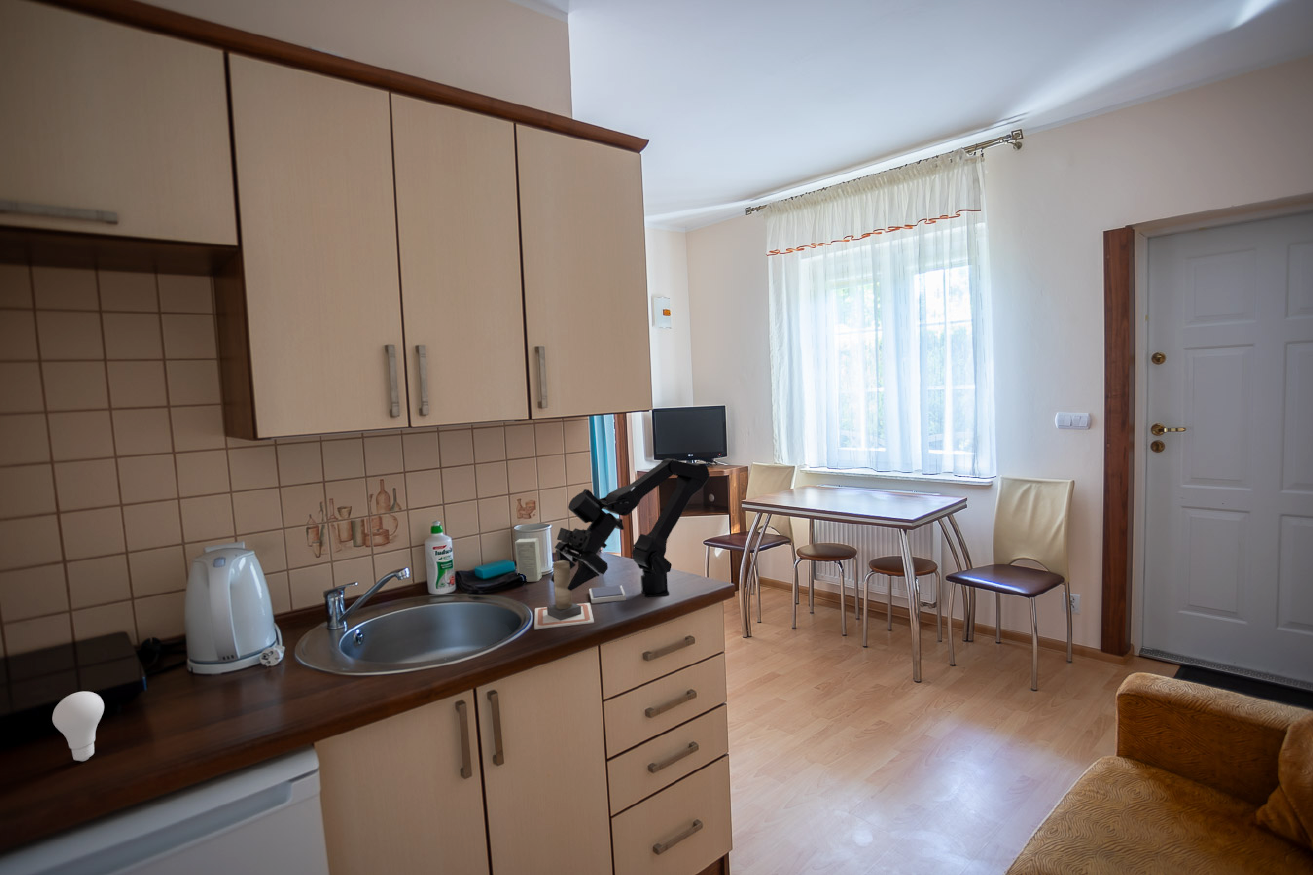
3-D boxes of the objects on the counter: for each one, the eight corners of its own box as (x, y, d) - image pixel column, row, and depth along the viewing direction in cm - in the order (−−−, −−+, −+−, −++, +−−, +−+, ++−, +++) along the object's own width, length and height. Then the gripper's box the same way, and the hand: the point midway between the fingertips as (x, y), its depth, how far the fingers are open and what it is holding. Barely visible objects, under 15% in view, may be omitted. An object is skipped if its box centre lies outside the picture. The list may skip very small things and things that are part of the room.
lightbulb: (49, 767, 101) (41, 699, 100) (95, 746, 106) (87, 682, 106) (73, 774, 98) (64, 705, 98) (118, 752, 104) (110, 687, 103)
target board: (589, 604, 167) (589, 602, 167) (594, 622, 153) (593, 620, 153) (535, 609, 164) (534, 607, 164) (534, 629, 151) (534, 627, 150)
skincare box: (542, 577, 193) (539, 537, 192) (537, 581, 189) (535, 541, 188) (521, 577, 194) (519, 538, 193) (517, 582, 190) (514, 541, 189)
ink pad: (621, 589, 178) (621, 584, 177) (626, 599, 169) (625, 594, 169) (589, 592, 176) (589, 587, 176) (591, 603, 167) (591, 597, 167)
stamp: (567, 608, 163) (565, 558, 162) (581, 613, 158) (578, 562, 157) (547, 614, 159) (544, 563, 158) (560, 620, 154) (557, 567, 154)
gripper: (559, 510, 167) (522, 559, 162) (593, 520, 152) (553, 575, 146) (588, 534, 172) (553, 583, 167) (623, 547, 157) (586, 601, 151)
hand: (560, 585), depth 158 cm, fingers open, 9 cm apart
